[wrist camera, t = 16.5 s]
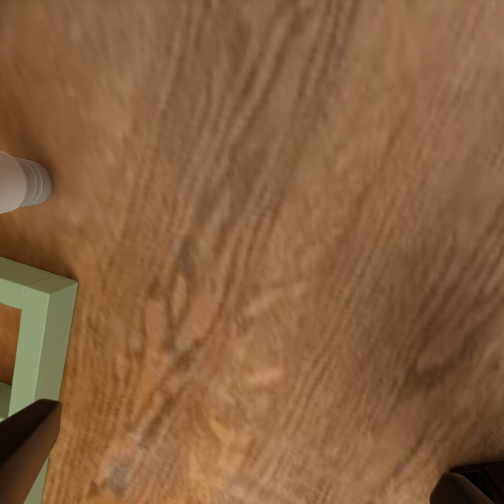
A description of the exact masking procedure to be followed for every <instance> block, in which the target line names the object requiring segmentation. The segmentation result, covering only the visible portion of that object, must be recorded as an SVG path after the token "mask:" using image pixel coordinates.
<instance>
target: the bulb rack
mask: <svg viewBox="0 0 504 504" xmlns="http://www.w3.org/2000/svg"><path fill="white" fill-rule="evenodd" d="M77 288H78V281H75V280H72V279H69V278H65V277H62V276H59V275H56V274H53V273H50V272H47V271H44V270H41V269H38V268H34V267H31V266H28V265H25V264H22V263H19V262H16V261H13V260H10V259H7V258H4V257H0V303H3V304H6V305H9V306H12V307H15V308H18V309H22V314H21V321H20V329H19V337H18V344H17V352H16V359H15V367H14V375H13V382H12V386H11V385H9V384H6V383H3V382H0V422H1V421H3V420H5V419H6V418H8V417H10V416H11V415H13V414H15V413H16V412H18V411H20V410H21V409H23V408H25V407H26V406H28V405H30V404H32V403H33V402H35V401H37V400H39V399H42V398H46V399H51V400H57V401H59V395H60V389H61V383H62V377H63V371H64V365H65V359H66V353H67V347H68V342H69V336H70V330H71V324H72V318H73V312H74V306H75V300H76V294H77ZM49 454H50V453H49ZM48 460H49V455H48V457H47V459H46V461H45V463H44V465H43V467H42V469H41V471H40V473H39V475H38V477H37V478H36V480H35V482H34V484H33V486H32V488H31V490H30V492H29V494H28V496H27V498H26V500H25V502H24V503H23V504H41V501H42V495H43V489H44V483H45V478H46V472H47V466H48Z"/></svg>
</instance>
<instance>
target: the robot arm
mask: <svg viewBox="0 0 504 504" xmlns="http://www.w3.org/2000/svg"><path fill="white" fill-rule="evenodd" d="M61 408H62V405H61V402H60V401H57V400H51V399H46V398H42V399H39V400H37V401H35V402H33V403H32V404H30V405H28V406H26V407H25V408H23V409H21V410H20V411H18V412H16V413H15V414H13V415H11V416H10V417H8V418H6V419H5V420H3V421H1V422H0V504H23V503H24V502H25V500H26V498H27V496H28V494H29V492H30V490H31V488H32V486H33V484H34V482H35V480H36V478H37V477H38V475H39V473H40V471H41V469H42V467H43V465H44V463H45V461H46V459H47V457H48V455H49V453H50V452H51V450H52V448H53V446H54V444H55V442H56V440H57V437H58V434H59V430H60V420H61ZM430 504H504V461H501V462H493V463H485V464H477V465H470V466H462V467H455V468H452V469H450V470H449V472H446V473H444V474H442V476H441V477H440V479H439V481H438V482H437V484H436V486H435V487H434V489H433V491H432V493H431V495H430Z"/></svg>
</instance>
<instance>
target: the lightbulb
mask: <svg viewBox="0 0 504 504" xmlns="http://www.w3.org/2000/svg"><path fill="white" fill-rule="evenodd" d="M50 192H51V179H50V176H49V174H48V172H47V171H46V169H45V168H44V167H43V166H42V165H40V164H39V163H37V162H35V161H30V160H27V159H22V158H17V157H12V156H11V155H9V154H7V153H5V152H3V151H0V213H6V212H10V211H12V210H14V209H16V208H18V207H26V206H34V205H38V204H41V203H43V202H44V201H45V200H46V199H47V198H48V196H49V194H50Z"/></svg>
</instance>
